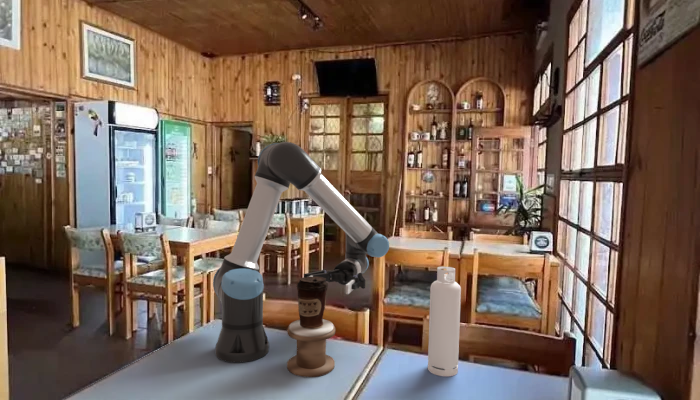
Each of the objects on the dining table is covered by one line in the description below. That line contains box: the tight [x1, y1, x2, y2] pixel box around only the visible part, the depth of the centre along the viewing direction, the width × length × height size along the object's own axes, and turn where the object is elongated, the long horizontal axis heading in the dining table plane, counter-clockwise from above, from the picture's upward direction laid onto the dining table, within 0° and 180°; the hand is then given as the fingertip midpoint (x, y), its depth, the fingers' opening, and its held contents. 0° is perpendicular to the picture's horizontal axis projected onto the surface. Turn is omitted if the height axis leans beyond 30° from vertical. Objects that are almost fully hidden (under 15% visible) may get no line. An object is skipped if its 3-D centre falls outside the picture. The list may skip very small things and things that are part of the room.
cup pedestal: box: [286, 319, 336, 378], centre depth 118 cm, size 13×13×11 cm
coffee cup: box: [296, 276, 329, 329], centre depth 118 cm, size 9×8×13 cm
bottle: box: [427, 266, 462, 377], centre depth 117 cm, size 8×8×28 cm
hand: (324, 287), depth 127 cm, fingers open, 13 cm apart
